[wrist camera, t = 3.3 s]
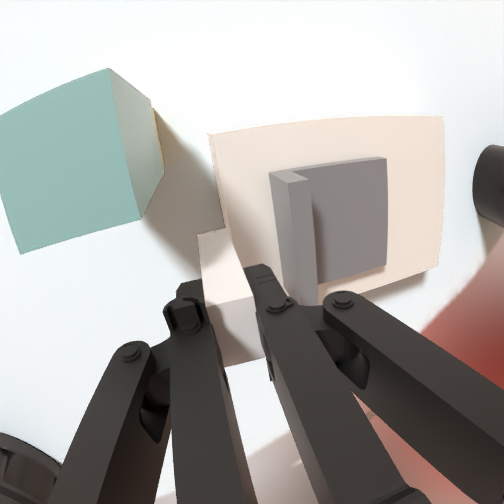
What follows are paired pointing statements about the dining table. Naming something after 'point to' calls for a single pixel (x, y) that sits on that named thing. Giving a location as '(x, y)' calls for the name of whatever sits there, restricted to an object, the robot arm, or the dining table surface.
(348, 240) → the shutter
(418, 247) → the socket block
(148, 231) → the dining table surface
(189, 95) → the dining table surface
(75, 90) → the teal block
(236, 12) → the dining table surface
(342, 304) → the robot arm
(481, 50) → the dining table surface
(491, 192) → the water bottle
